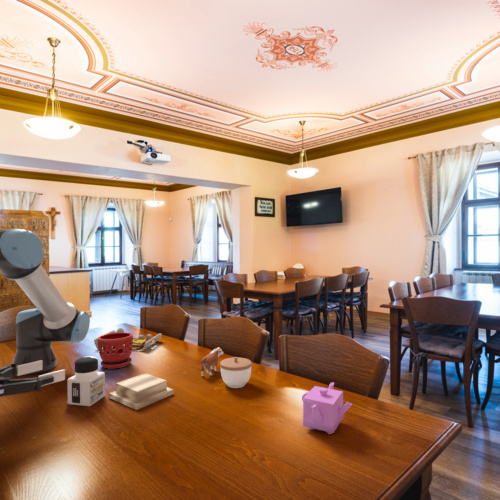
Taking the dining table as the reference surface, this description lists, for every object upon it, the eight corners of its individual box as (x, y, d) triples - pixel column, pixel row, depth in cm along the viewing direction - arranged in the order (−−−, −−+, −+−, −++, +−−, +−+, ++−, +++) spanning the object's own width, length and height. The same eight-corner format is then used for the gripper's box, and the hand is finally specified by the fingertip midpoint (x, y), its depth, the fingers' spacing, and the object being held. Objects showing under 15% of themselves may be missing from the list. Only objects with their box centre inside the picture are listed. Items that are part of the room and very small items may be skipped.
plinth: (108, 397, 113) (108, 383, 113) (146, 384, 124) (146, 370, 124) (136, 410, 105) (136, 394, 105) (173, 394, 116) (173, 380, 116)
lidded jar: (258, 384, 124) (258, 357, 124) (235, 393, 116) (235, 364, 116) (236, 376, 131) (235, 350, 131) (213, 385, 123) (213, 357, 123)
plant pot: (138, 360, 150) (138, 331, 150) (124, 371, 137) (123, 339, 137) (108, 359, 151) (107, 330, 151) (91, 370, 138) (90, 339, 138)
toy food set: (93, 351, 165) (93, 334, 165) (113, 340, 183) (113, 325, 183) (146, 353, 161) (146, 336, 161) (162, 342, 179) (161, 326, 179)
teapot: (342, 450, 84) (342, 408, 84) (289, 436, 90) (289, 397, 90) (359, 418, 100) (359, 382, 99) (313, 407, 106) (313, 374, 106)
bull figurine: (225, 367, 141) (225, 346, 141) (207, 379, 129) (207, 356, 129) (215, 365, 143) (215, 345, 143) (196, 377, 131) (196, 354, 130)
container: (90, 406, 107) (89, 363, 107) (67, 404, 108) (66, 361, 108) (105, 396, 114) (105, 355, 114) (83, 394, 116) (83, 353, 116)
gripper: (-56, 396, 94) (33, 373, 111) (-22, 424, 79) (74, 393, 96) (-56, 367, 94) (33, 349, 111) (-22, 389, 79) (74, 364, 96)
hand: (52, 369), depth 103 cm, fingers open, 13 cm apart
